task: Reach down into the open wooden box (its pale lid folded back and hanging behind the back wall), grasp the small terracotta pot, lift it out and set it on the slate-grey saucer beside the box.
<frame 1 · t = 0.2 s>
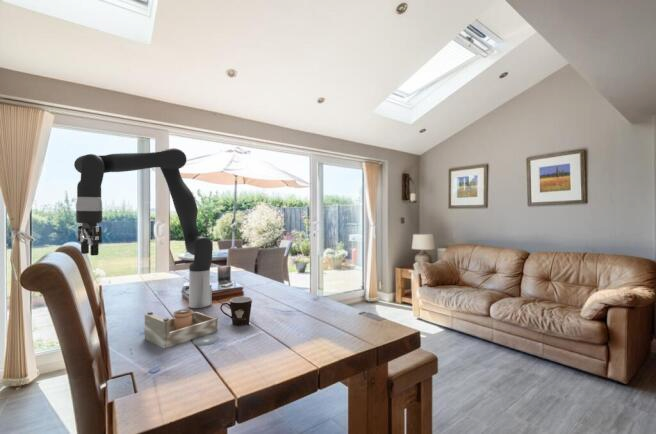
hand: (89, 254, 113), 29 cm above the table, tool pointing down, fingers open, 8 cm apart
saucer: (205, 342, 107), on the table
wooden box: (183, 335, 113), on the table
coffee mug: (237, 324, 125), on the table
pot: (183, 333, 113), point 1 cm above the table, touching wooden box
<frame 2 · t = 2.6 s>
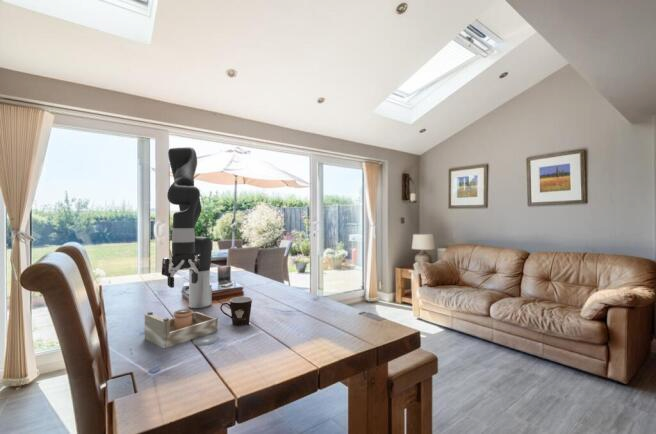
hand: (183, 285, 113), 18 cm above the table, tool pointing down, fingers open, 8 cm apart
nothing on the table moved.
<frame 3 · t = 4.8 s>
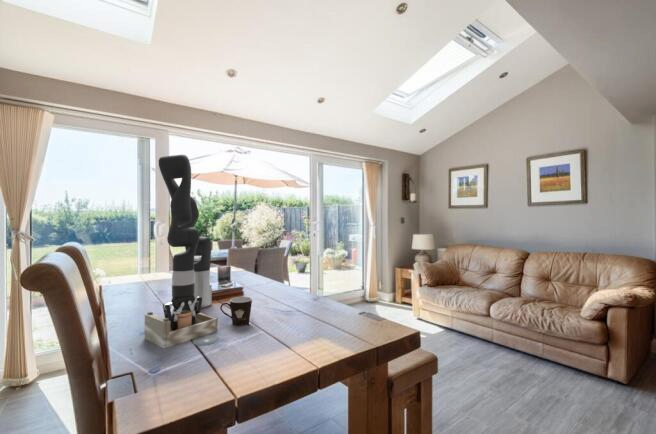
hand: (183, 328, 113), 3 cm above the table, tool pointing down, fingers closed on pot, 5 cm apart
pot: (183, 333, 113), point 1 cm above the table, touching wooden box, gripper
everything else where it was.
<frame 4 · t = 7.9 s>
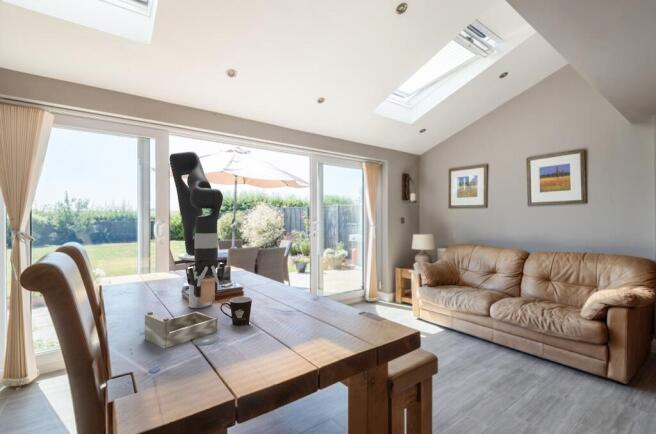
hand: (205, 294, 107), 16 cm above the table, tool pointing down, fingers closed on pot, 5 cm apart
pot: (206, 300, 107), point 14 cm above the table, touching gripper
everything else where it was.
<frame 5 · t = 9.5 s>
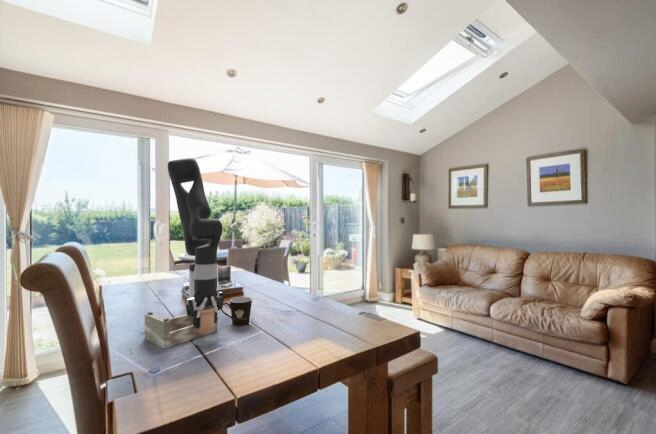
hand: (205, 325, 107), 6 cm above the table, tool pointing down, fingers closed on pot, 5 cm apart
pot: (205, 330, 107), point 4 cm above the table, touching gripper
everything else where it was.
when the fingers open (4 cm above the table, at t = 10.9 s): pot drops 1 cm, resting on saucer.
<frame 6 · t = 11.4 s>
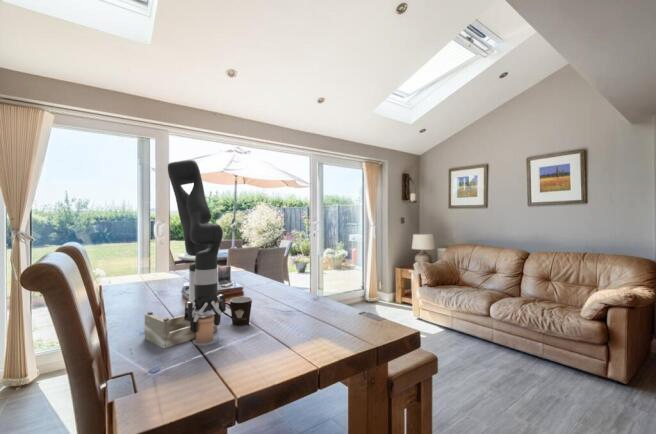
hand: (205, 328, 107), 5 cm above the table, tool pointing down, fingers open, 8 cm apart
pot: (204, 340, 107), point 1 cm above the table, touching saucer
everything else where it was.
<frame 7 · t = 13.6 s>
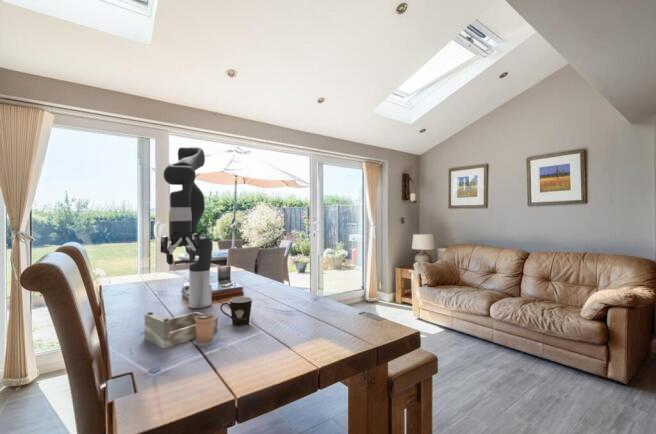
hand: (181, 262, 117), 26 cm above the table, tool pointing down, fingers open, 8 cm apart
nothing on the table moved.
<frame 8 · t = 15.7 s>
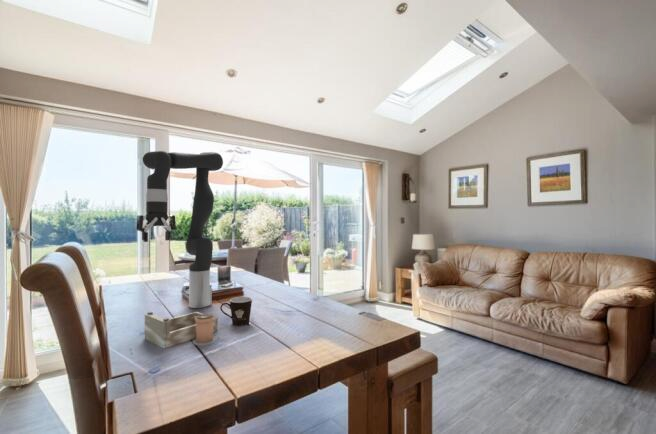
hand: (156, 241, 125), 33 cm above the table, tool pointing down, fingers open, 8 cm apart
nothing on the table moved.
at the end: pot 0.4 cm from the saucer (horizontally); pot point 0.8 cm above the table; pot tilted 0° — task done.
